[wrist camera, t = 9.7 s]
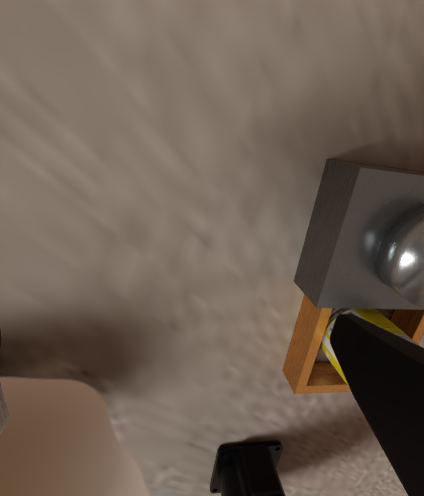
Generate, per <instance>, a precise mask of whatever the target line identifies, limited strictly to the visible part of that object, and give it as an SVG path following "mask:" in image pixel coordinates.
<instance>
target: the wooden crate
mask: <svg viewBox="0 0 424 496" xmlns="http://www.w3.org/2000/svg"><path fill="white" fill-rule="evenodd" d="M294 282H295V283H296V285H297V286H298V287H299V288H300V289H301V290H302V292H303V293H304V294H305V295H304V298H303V302H302V305H301V309H300V312H299V315H298V319H297V322H296V326H295V329H294V333H293V336H292V339H291V343H290V346H289V350H288V353H287V357H286V360H285V363H284V367H283V370H282V371H283V373H284V375H285V377H286V378H287V380H288V382H289V384H290V386H291V388H292V390H293V392H294V394H309V393H329V392H349V391H351V390H350V388H349V386H348V385H347V384H346V382H345V381H344V380H343V378H342V377H341V376H340V374H339V373H338V371H337V370H336V369H335V367H334V366H333V365H332V363H331V362H318V363H314V362H315V359H316V356H317V353H318V350H319V347H320V344H321V341H322V338H323V335H324V332H325V329H326V326H327V323H328V320H329V317H330V314H331V311H332V308H353V309H395V310H394V312H393V314H392V317H391V319H390V321H391V322H392V323H393V324H394V325H396V326H397V327H398V328H399V329H400V330H401V331H403V332H404V333H405V334H406V335H407V336H408V337H410V338H411V339H412V340H413V341H414V342H416V343H417V344H418V343H419V341H420V339H421V337H422V335H423V333H424V172H419V171H412V170H405V169H397V168H390V167H382V166H375V165H368V164H360V163H353V162H346V161H338V160H331V159H327V161H326V165H325V169H324V172H323V176H322V180H321V183H320V187H319V191H318V194H317V198H316V202H315V205H314V209H313V213H312V216H311V220H310V224H309V227H308V231H307V235H306V239H305V242H304V246H303V250H302V253H301V257H300V261H299V264H298V268H297V272H296V275H295V279H294Z"/></svg>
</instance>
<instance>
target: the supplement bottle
mask: <svg viewBox="0 0 424 496" xmlns="http://www.w3.org/2000/svg"><path fill="white" fill-rule="evenodd" d="M339 314H354V315H356V316H358V317H360V318H362V319H364V320H366V321H368V322H370V323H373V324H375V325H377V326H379V327H381V328H383V329H385V330H387V331H389V332H391V333H393V334H395V335H397V336H400V337H402V338H404V339H406V340H408V341H410V342H412V343H414V344H416V345H418V344H417V343H416V342H414V341H413V340H412V339H411V338H410V337H408V336H407V335H406V334H405V333H404V332H403V331H401V330H400V329H399V328H398V327H397V326H396V325H394V324H393V323H392V322H391V321H390V320H388V319H387V318H386V317H385V316H384V315H383V314H381V313H380V312H379V311H378V310H377V309H353V308H334V309H332V311H331V314H330V317H329V320H328V323H327V326H326V329H325V332H324V335H323V338H322V341H321V344H320V348H321V350H322V351H323V352H324V354H325V355H326V357H327V358H328V359H329V361H330V362H331V363H332V365H333V366H334V367H335V369H336V370H337V371H338V373H339V374H340V376H341V377H342V378H343V380H344V381H345V382H346V384H347V385H348V383H347V381H346V379H345V377H344V374H343V372H342V370H341V367H340V365H339V363H338V361H337V358H336V356H335V354H334V351H333V349H332V347H331V344H330V334H331V331H332V328H333V326H334V323H335V320H336V317H337V316H338V315H339ZM418 346H419V345H418Z"/></svg>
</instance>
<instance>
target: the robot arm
mask: <svg viewBox="0 0 424 496" xmlns="http://www.w3.org/2000/svg"><path fill="white" fill-rule="evenodd" d="M330 344H331V347H332V349H333V351H334V354H335V356H336V358H337V361H338V363H339V365H340V367H341V370H342V372H343V374H344V377H345V379H346V381H347V383H348V386H349V388H350V390H351V392H352V394H353V396H354V398H355V400H356V401H357V403H358V405H359V407H360V409H361V411H362V412H363V414H364V416H365V418H366V420H367V421H368V423H369V425H370V427H371V429H372V430H373V432H374V434H375V436H376V438H377V440H378V441H379V443H380V445H381V447H382V449H383V450H384V452H385V454H386V456H387V458H388V459H389V461H390V463H391V465H392V467H393V469H394V470H395V472H396V474H397V476H398V478H399V479H400V481H401V483H402V485H403V487H404V489H405V490H406V492H407V494H408V496H424V348H422V347H420V346H418V345H416V344H414V343H412V342H410V341H408V340H406V339H404V338H402V337H400V336H397V335H395V334H393V333H391V332H389V331H387V330H385V329H383V328H381V327H379V326H377V325H375V324H373V323H370V322H368V321H366V320H364V319H362V318H360V317H358V316H356V315H354V314H339V315H338V316H337V317H336V320H335V323H334V326H333V328H332V331H331V334H330ZM0 346H1V331H0ZM282 448H283V447H282V444H281V442H279V441H276V442H265V443H253V444H241V445H230V446H221V447H219V448H218V450H217V455H216V460H215V464H214V469H213V473H212V478H211V483H210V492H211V493H221V495H222V496H285V493H284V490H283V487H282V484H281V481H280V479H279V476H278V473H277V470H276V466H277V463H278V460H279V457H280V454H281V451H282Z"/></svg>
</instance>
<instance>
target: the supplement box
mask: <svg viewBox="0 0 424 496" xmlns="http://www.w3.org/2000/svg"><path fill="white" fill-rule="evenodd" d="M8 419H9V414H8V411H7V407H6V404H5V401H4V397H3V393H2V389H1V385H0V436H1V433H2V431H3V429H4V427H5V425H6V423H7V421H8Z"/></svg>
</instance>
